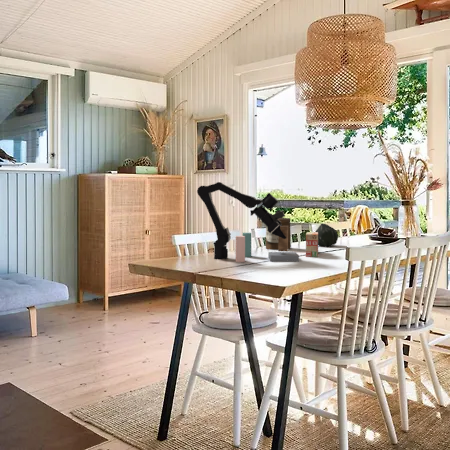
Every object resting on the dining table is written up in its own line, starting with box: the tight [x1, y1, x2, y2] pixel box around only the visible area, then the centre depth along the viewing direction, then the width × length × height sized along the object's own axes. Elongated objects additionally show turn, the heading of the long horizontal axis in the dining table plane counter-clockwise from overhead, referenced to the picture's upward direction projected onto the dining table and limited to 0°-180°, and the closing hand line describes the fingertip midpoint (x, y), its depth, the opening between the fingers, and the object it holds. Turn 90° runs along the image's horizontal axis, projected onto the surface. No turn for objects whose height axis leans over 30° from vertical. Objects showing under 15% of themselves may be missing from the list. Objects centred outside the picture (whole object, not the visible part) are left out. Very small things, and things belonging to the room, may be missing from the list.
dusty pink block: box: [235, 235, 246, 263], centre depth 271 cm, size 4×4×12 cm
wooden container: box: [265, 212, 292, 251], centre depth 328 cm, size 15×15×22 cm
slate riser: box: [267, 251, 300, 262], centre depth 278 cm, size 14×14×3 cm
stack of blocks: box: [305, 231, 319, 258], centre depth 299 cm, size 21×6×12 cm, turn 170°
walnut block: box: [277, 226, 289, 252], centre depth 278 cm, size 4×4×12 cm
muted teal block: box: [242, 232, 252, 258], centre depth 291 cm, size 4×4×12 cm
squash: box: [315, 222, 339, 247], centre depth 341 cm, size 14×15×15 cm
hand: (285, 237), depth 277 cm, fingers closed on walnut block, 4 cm apart
